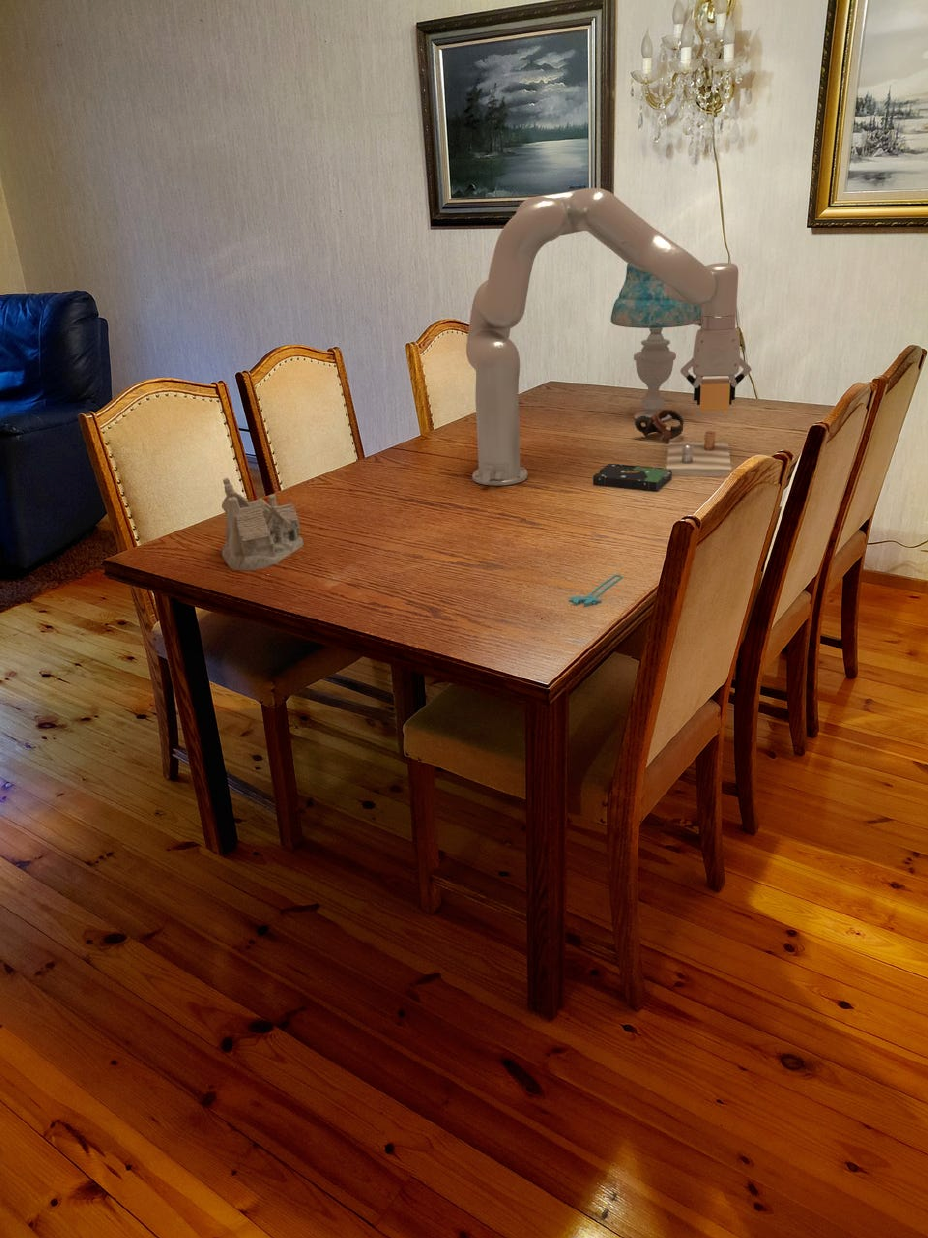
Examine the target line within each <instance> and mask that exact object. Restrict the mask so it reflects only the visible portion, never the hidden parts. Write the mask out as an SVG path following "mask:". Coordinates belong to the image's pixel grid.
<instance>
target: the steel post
mask: <svg viewBox="0 0 928 1238" xmlns="http://www.w3.org/2000/svg"><path fill="white" fill-rule="evenodd" d="M693 446H694V445H693V444H683V447H682V463H684V464H690V463H692V462H693Z"/></svg>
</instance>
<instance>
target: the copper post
mask: <svg viewBox="0 0 928 1238" xmlns="http://www.w3.org/2000/svg"><path fill="white" fill-rule="evenodd" d="M716 434H717V433H716V431H713V430H710V431H709V430H708V431H704V440H703V441H704V442H703V443H704V450H707V451H712V450H714V449H715V443H716Z"/></svg>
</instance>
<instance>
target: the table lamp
mask: <svg viewBox="0 0 928 1238" xmlns="http://www.w3.org/2000/svg"><path fill="white" fill-rule="evenodd" d="M700 317H701V305H698V306H695V305H690V304H687V303H683V302H679V301H676V300H673V299H672V298H670V297H669V296H668V295H667V293H666V291H665V289H664V282H663V281H661V280H660V279H658V278H656V277H655V276H653V275H651V274H649V273H647V272H644V271H642V270H640V269H637V268H635V267H633V266H632V265H630V264H628V263H627V265H626V274H625V279H624V281H623V285H622V287H621V289H620V291H619V292H618V297H617V298H616V299H615V301H614V303H613V306H612V311H611V313H610V323H611V324H613V325H615V326H618V327H626V328H637V329H638V328H641V329H642V328H643V329H649V332H650V333H649V334H648V337H647V338H646V339H643V340H641V342H640V345H641V346H642V348H641V349H640V351H638V352H635V353H634V355H633V359H634V361H635V363H636V372H637V376H638V379H639V380H640V381H641V383H643V384H645V386H646V387H647V390H648V391H646V392H645V396H643V397H642V398H641V401H640V402H641V405H640V406H641V409H643V411H639V412H637V413H635V415H634V416H633V417H634V419H635V420H636V419H637V418H638V417H640V416H647V417H651V416H653V415H654V414H657V412H658V411H659V410H663V409H665V406H666V398H665V397H664V396H662V392H661V391H660V388H661V386H662V385H663V384H664V383H666V382H667V381H668V379H669V378H670V377H671V375H672V372H673V366H674V361H675V360H676V358H677V355H676V352H674V351H671V350H670V348H669V347H668V346H669V345H670V344H671V341H670V340H669V339H668V338H667V339H666V338H665V337H664V335H663V334H662V331H663V329H664V328H675V327H684V326H685V327H686V326H690V325H694V319H697V318H700ZM670 419H672V417H671V416H670V415H669V414H668V415H667V416H666V417H665V418H662V419H661V421H662V422H663V423H664V422H666V421H669V420H670Z"/></svg>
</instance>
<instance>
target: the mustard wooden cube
mask: <svg viewBox="0 0 928 1238" xmlns="http://www.w3.org/2000/svg"><path fill="white" fill-rule="evenodd" d="M729 394H730V380H729V377H726V378H725V377H724V378H702V380H701V382H700V405H698V406H699V408H698V409H699V412H729V410H730V409H729V407H730V405H729Z"/></svg>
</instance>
